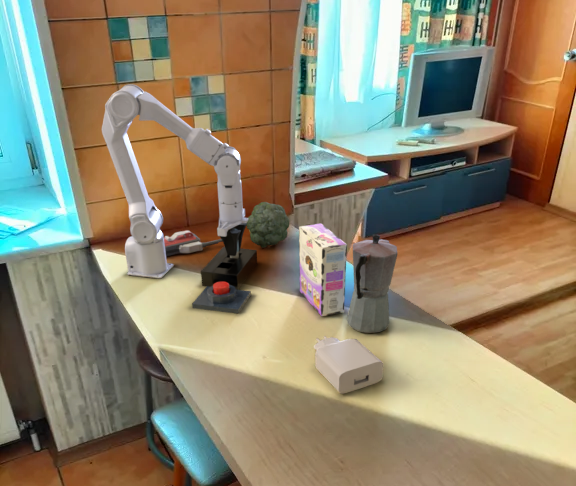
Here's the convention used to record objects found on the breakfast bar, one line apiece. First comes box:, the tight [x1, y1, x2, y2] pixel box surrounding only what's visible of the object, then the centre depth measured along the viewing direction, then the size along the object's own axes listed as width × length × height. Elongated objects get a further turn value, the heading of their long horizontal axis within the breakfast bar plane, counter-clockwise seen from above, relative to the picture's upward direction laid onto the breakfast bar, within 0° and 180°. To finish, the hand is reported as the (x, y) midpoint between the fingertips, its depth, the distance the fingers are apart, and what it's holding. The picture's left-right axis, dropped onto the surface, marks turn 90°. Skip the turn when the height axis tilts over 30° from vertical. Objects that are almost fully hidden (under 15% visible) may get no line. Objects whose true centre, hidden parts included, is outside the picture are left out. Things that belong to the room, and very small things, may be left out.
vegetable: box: [246, 201, 290, 249], centre depth 164 cm, size 12×13×15 cm
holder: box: [200, 246, 258, 290], centre depth 147 cm, size 9×15×4 cm, turn 165°
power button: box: [213, 282, 229, 295], centre depth 134 cm, size 4×4×2 cm
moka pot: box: [346, 234, 398, 334], centre depth 121 cm, size 10×15×20 cm, turn 155°
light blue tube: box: [230, 228, 239, 259], centre depth 147 cm, size 2×2×9 cm
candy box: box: [298, 223, 348, 317], centre depth 131 cm, size 14×6×16 cm, turn 20°
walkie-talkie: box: [164, 229, 223, 257], centre depth 162 cm, size 9×4×20 cm
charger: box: [313, 335, 384, 394], centre depth 111 cm, size 5×9×15 cm
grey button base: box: [191, 285, 252, 314], centre depth 135 cm, size 11×9×3 cm
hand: (233, 252), depth 148 cm, fingers closed on light blue tube, 2 cm apart
